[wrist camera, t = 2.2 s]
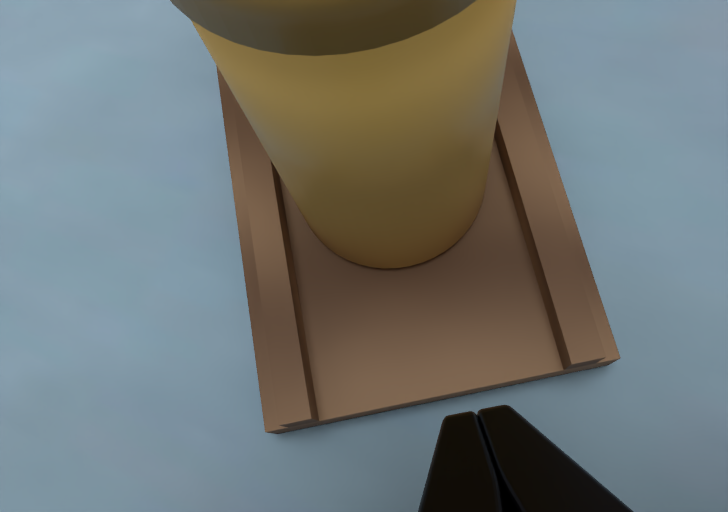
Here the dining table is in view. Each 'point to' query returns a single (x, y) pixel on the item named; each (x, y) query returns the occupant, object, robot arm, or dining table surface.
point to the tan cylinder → (369, 111)
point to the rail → (417, 287)
